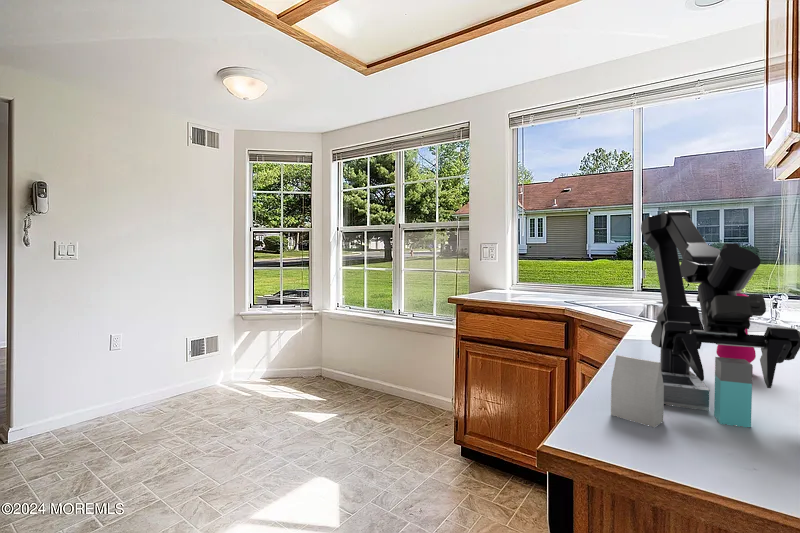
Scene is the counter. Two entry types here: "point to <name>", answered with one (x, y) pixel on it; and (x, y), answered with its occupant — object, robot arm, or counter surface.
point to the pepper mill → (737, 348)
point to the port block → (685, 391)
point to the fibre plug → (733, 391)
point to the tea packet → (637, 390)
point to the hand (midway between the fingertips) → (735, 383)
